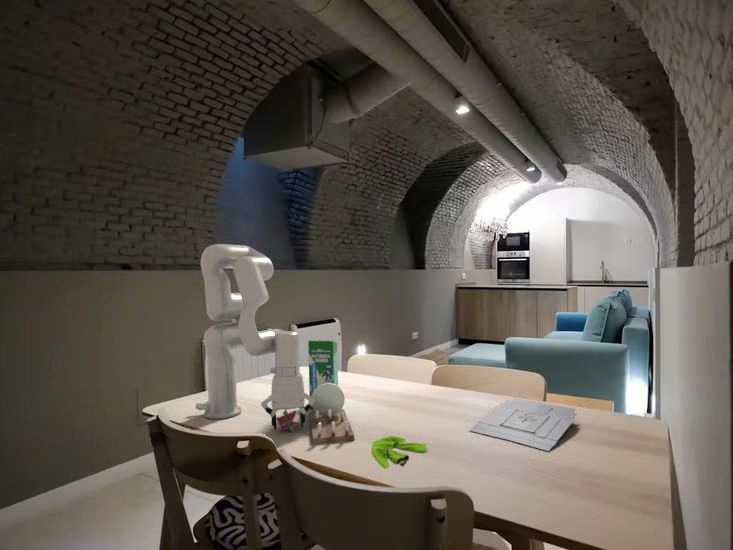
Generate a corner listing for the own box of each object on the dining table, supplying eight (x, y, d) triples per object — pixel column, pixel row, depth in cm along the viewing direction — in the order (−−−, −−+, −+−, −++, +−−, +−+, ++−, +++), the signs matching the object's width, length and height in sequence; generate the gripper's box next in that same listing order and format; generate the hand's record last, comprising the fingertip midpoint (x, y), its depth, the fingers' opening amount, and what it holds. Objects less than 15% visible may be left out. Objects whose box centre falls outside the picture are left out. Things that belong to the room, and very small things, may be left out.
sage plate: (311, 418, 143) (311, 384, 143) (311, 417, 144) (310, 384, 144) (344, 415, 145) (344, 382, 144) (344, 414, 146) (343, 381, 146)
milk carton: (338, 402, 164) (337, 336, 164) (334, 410, 155) (332, 340, 155) (315, 402, 165) (313, 336, 165) (309, 409, 156) (308, 340, 156)
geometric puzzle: (269, 427, 133) (284, 407, 133) (274, 420, 140) (288, 400, 140) (288, 441, 133) (303, 420, 133) (292, 432, 140) (306, 413, 139)
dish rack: (313, 443, 125) (313, 438, 125) (309, 415, 150) (309, 411, 150) (354, 440, 127) (354, 435, 127) (343, 412, 152) (343, 408, 152)
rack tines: (318, 437, 126) (317, 423, 126) (313, 411, 150) (313, 399, 150) (348, 434, 128) (348, 421, 127) (339, 409, 151) (339, 398, 151)
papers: (583, 418, 139) (582, 407, 138) (550, 461, 117) (549, 448, 116) (509, 403, 155) (509, 394, 155) (468, 438, 133) (468, 427, 133)
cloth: (390, 434, 133) (390, 426, 133) (454, 452, 119) (454, 444, 119) (345, 457, 117) (345, 449, 117) (413, 482, 103) (413, 471, 103)
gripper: (258, 375, 131) (259, 433, 131) (316, 372, 134) (317, 428, 134) (259, 370, 138) (261, 425, 138) (314, 366, 141) (315, 420, 141)
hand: (288, 426), depth 136 cm, fingers closed on geometric puzzle, 7 cm apart
